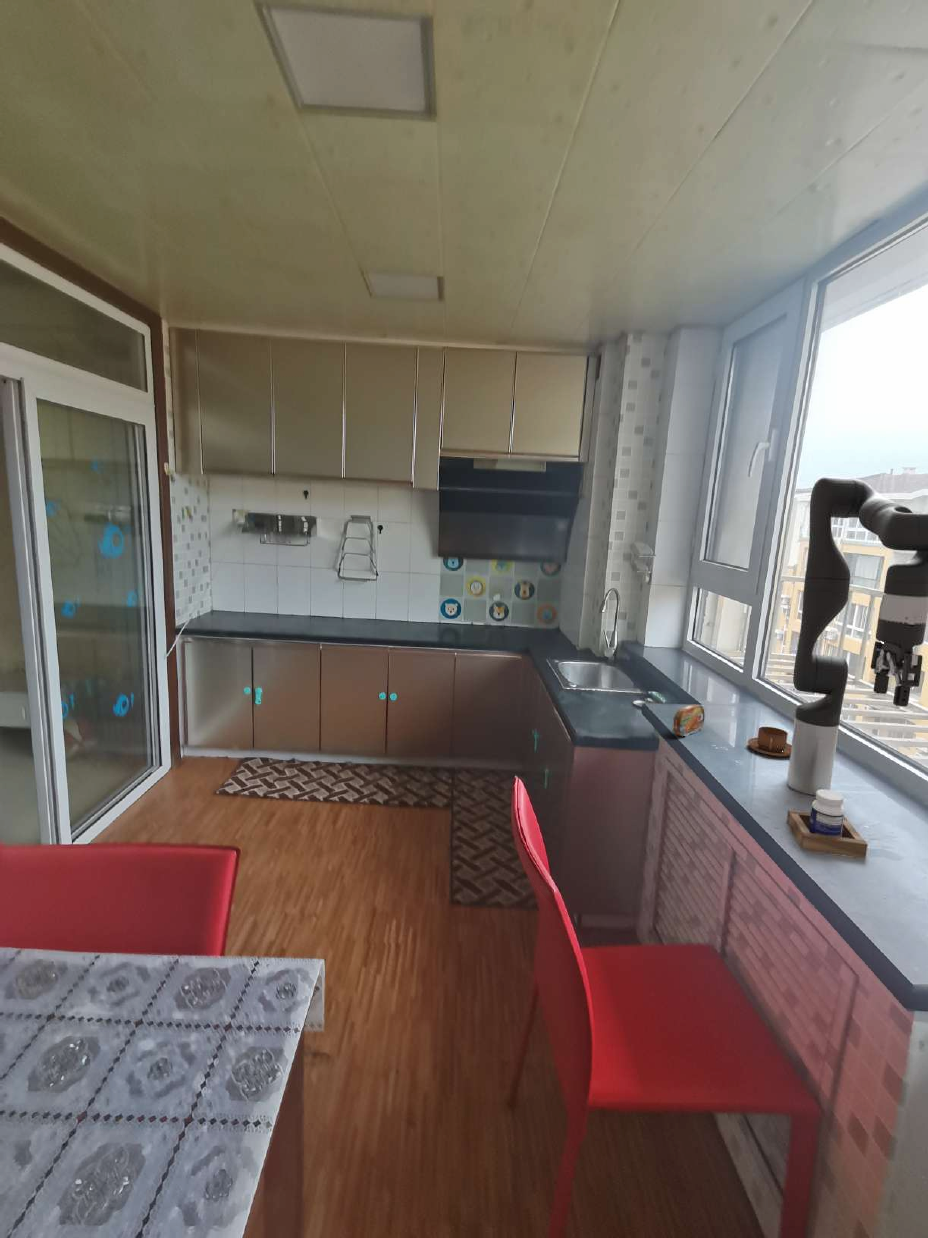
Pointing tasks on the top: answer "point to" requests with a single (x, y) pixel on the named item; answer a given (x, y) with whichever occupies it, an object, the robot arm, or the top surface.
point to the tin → (688, 719)
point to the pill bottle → (827, 814)
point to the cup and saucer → (771, 742)
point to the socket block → (826, 837)
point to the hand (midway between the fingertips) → (889, 699)
